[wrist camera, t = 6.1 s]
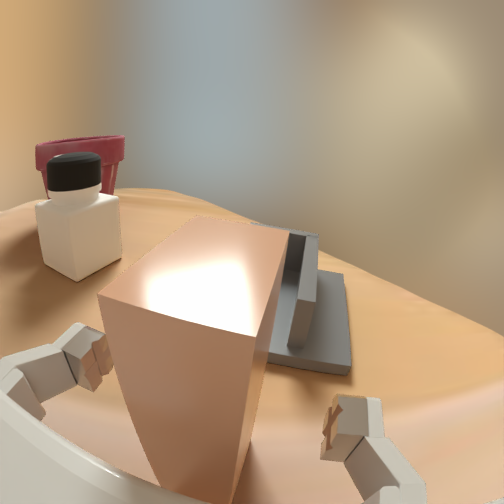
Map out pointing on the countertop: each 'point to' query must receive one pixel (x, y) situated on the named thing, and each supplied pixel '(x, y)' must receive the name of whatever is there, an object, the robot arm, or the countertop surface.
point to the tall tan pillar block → (196, 348)
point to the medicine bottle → (78, 217)
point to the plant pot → (101, 145)
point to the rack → (310, 312)
